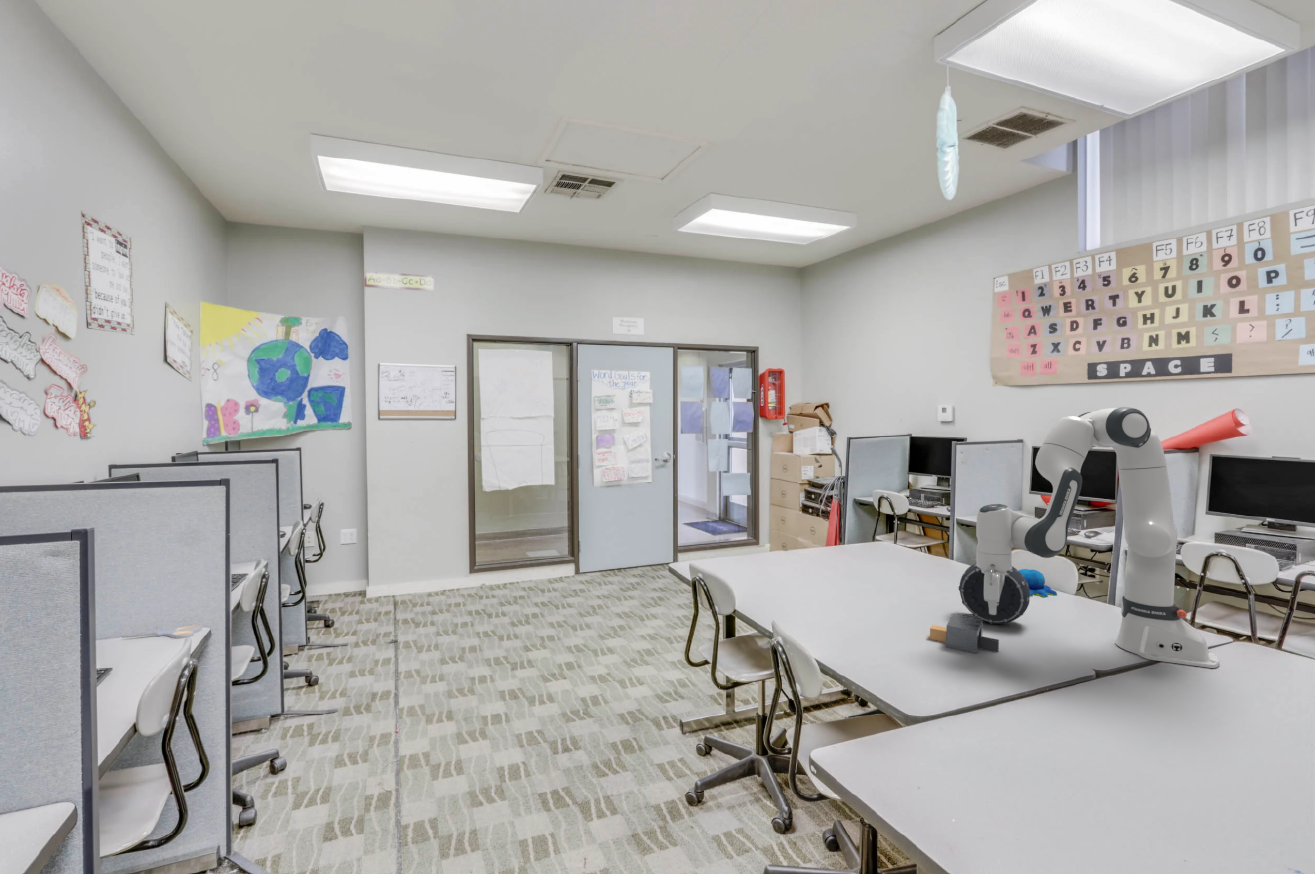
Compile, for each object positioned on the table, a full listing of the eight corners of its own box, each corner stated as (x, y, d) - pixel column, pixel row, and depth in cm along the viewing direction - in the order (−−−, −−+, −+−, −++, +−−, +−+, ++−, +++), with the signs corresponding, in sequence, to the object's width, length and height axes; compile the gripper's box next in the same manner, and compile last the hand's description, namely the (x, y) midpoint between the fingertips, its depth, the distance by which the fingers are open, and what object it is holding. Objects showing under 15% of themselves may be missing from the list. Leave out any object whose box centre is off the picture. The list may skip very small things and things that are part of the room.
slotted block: (982, 640, 181) (982, 619, 181) (976, 653, 171) (977, 631, 171) (952, 634, 185) (953, 613, 185) (946, 647, 176) (946, 625, 175)
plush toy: (1013, 596, 224) (1013, 574, 224) (997, 583, 241) (997, 562, 240) (1063, 599, 221) (1064, 577, 220) (1043, 585, 237) (1044, 564, 237)
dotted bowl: (1026, 633, 186) (1028, 569, 185) (955, 619, 199) (957, 559, 198) (1030, 623, 195) (1032, 562, 194) (962, 610, 207) (964, 553, 206)
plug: (998, 648, 175) (999, 637, 175) (997, 653, 172) (998, 641, 172) (932, 635, 185) (932, 624, 185) (929, 639, 182) (930, 628, 182)
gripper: (1004, 570, 162) (1004, 621, 163) (1008, 555, 179) (1009, 601, 180) (977, 568, 166) (978, 618, 166) (984, 553, 183) (984, 598, 183)
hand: (994, 609), depth 173 cm, fingers open, 8 cm apart
